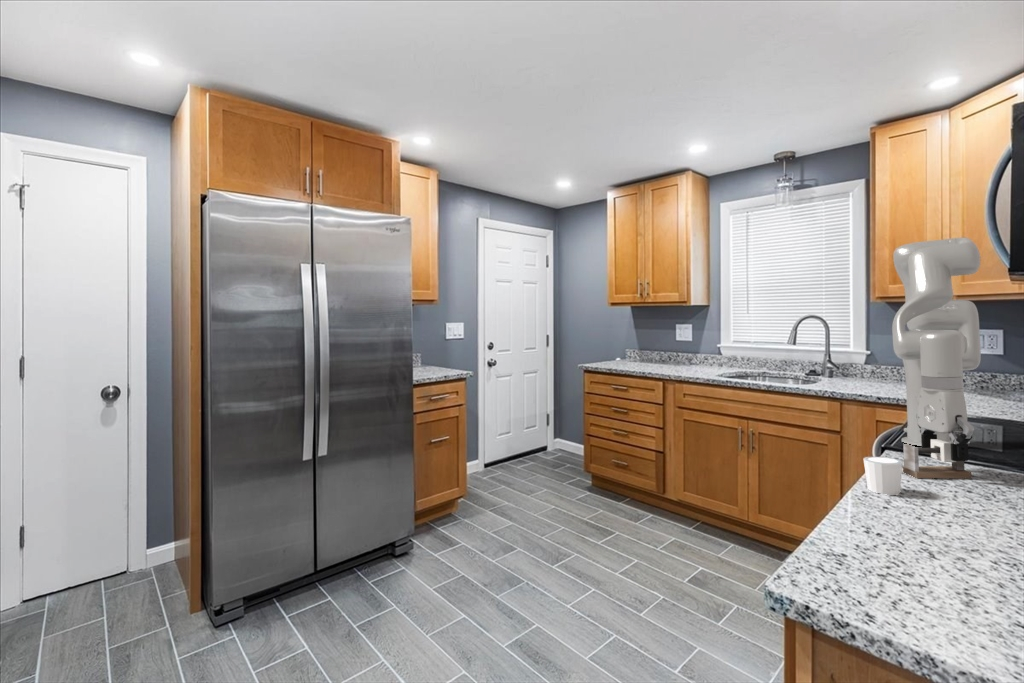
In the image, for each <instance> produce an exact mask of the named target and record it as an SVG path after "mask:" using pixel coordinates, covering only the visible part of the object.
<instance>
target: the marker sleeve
mask: <svg viewBox="0 0 1024 683" xmlns="http://www.w3.org/2000/svg"><path fill="white" fill-rule="evenodd" d="M951 443H953V442H950V441H946V440H943V439H931V448H940V453H930V458H932V459H934V460H938V461H941V462H943V463H952V462H956V461H952V460H951Z"/></svg>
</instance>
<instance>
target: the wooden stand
mask: <svg viewBox="0 0 1024 683" xmlns="http://www.w3.org/2000/svg"><path fill="white" fill-rule="evenodd" d="M902 444H903V445H902V446H903V466H902V473H903V472H904V473H903V474H905V473H906V474H905V475H907V474H909V475H911V476H910V477H912V476H913V477H912V478H914V477H915V478H914V479H916V478H928V479H929V480H931V479H932V478H933V480H934V478H943V479H945V478H946V480H947V479H949V478H953V479H957V478H958V479H960V480H961V479H964V478H965V479H967V480H968V479H971V480H972V472H971V471H969V470H967V469H966V468H965V461H956V462H951V466H949V465H948V466H946V465H945V466H942V465H941V466H939V465H938V466H936V465H935V466H934V465H933V466H920V465H919V463H920V462H919V460H920V459H919V454H931V453H940V448H922V447H915V446H912V445H909V444H904V443H902ZM909 475H908V476H909ZM928 479H927V480H928ZM958 479H957V480H958ZM949 480H950V479H949Z"/></svg>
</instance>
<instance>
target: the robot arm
mask: <svg viewBox="0 0 1024 683" xmlns="http://www.w3.org/2000/svg"><path fill="white" fill-rule="evenodd" d="M978 248H979V247H978V246H977V244H976V243H975V242H974V241H973V240H971V238H969V237H953V238H946V239H945V238H944V239H933V240H925V241H924V240H923V241H918V242H909V243H906V244H903V245H900V246H898V247H896V248H895V249H894V251H893V254H892V257H893V258H892V260H893V265H894V268H895V271H896V273H897V275H898V278H899V279H900V281H901V282H902V285H903V288H904V296H905V297H904V298H905V302H904V304H903V305H901V306H900V308H899V309H898V311H896V313H895V315H894V318H893V319H892V324H891V325H892V326H891V332H892V347H893V352H894V354H895V356H896V358H898V359H900V360H902V364H903V368H904V376H905V385H906V386H905V390H906V416H907V419H906V420H907V426H906V427H904V428H903V432H905V433H906V435H907V436H905V437H902V438H901V443H902V442H904V443H907V444H911V445H917V446H922V447H921V448H931V439H943V440H946V441H950V442H953V443H951V460H952V461H964V462H968V461H969V445H970V443H971V440H972V439H973V434H974V432H975V427H974V425H972V424H971V423H970V422H969V421H968V411H967V403H966V398H965V394H964V373H963V372H964V371H973V370H975V369H977V368H978V367H980V364H981V357H982V356H981V352H982V350H981V336H980V334H981V333H980V332H981V331H980V319H979V318H980V316H979V312H978V308H977V306H976V304H975V303H974V302H973V301H970V300H968V299H953V298H954V291H953V290H954V289H953V284H952V282H953V281H952V277H956V276H969V275H974V274H976V273H977V272H978V271H979V269H980V267H981V260H982V259H981V253H980V250H979V249H978ZM906 326H907V329H908V330H906ZM904 443H903V444H904Z"/></svg>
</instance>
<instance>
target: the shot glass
mask: <svg viewBox="0 0 1024 683" xmlns="http://www.w3.org/2000/svg"><path fill="white" fill-rule="evenodd" d="M863 465H864V472H865V479H866V486H867V490H868V489H869V490H871V491H873V492H876V493H881V494H887V495H896V494H899V493H900V494H901V485H902V475H903V474H902V473H903V461H902V460H900V459H897V458H892V457H886V456H864V457H863ZM900 494H899V495H900ZM887 495H886V496H887ZM896 496H897V495H896Z"/></svg>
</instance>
